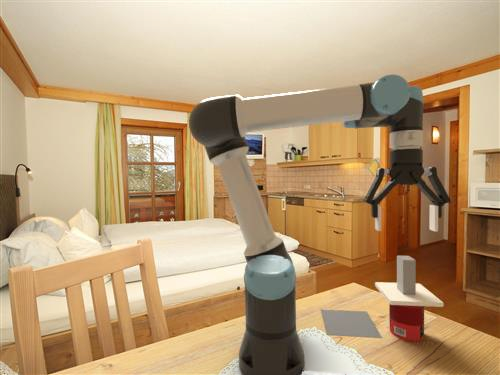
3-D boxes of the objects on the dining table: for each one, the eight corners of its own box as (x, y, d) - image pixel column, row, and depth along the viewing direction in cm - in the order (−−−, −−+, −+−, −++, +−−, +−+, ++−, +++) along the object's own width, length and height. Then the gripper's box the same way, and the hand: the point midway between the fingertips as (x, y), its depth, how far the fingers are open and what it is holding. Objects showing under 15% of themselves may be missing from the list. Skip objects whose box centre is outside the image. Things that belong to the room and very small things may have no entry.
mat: (326, 337, 72) (326, 334, 72) (320, 311, 86) (320, 309, 86) (382, 340, 71) (382, 337, 70) (366, 314, 84) (366, 311, 84)
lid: (390, 304, 67) (390, 264, 67) (374, 285, 79) (374, 251, 79) (443, 306, 65) (443, 265, 65) (419, 286, 77) (419, 251, 77)
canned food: (429, 346, 68) (429, 302, 68) (394, 343, 70) (394, 300, 69) (417, 329, 75) (417, 290, 75) (386, 326, 77) (385, 288, 77)
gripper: (359, 149, 69) (359, 232, 70) (468, 145, 65) (467, 233, 66) (352, 151, 76) (352, 227, 77) (449, 148, 73) (449, 227, 74)
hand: (405, 230), depth 72 cm, fingers open, 13 cm apart
